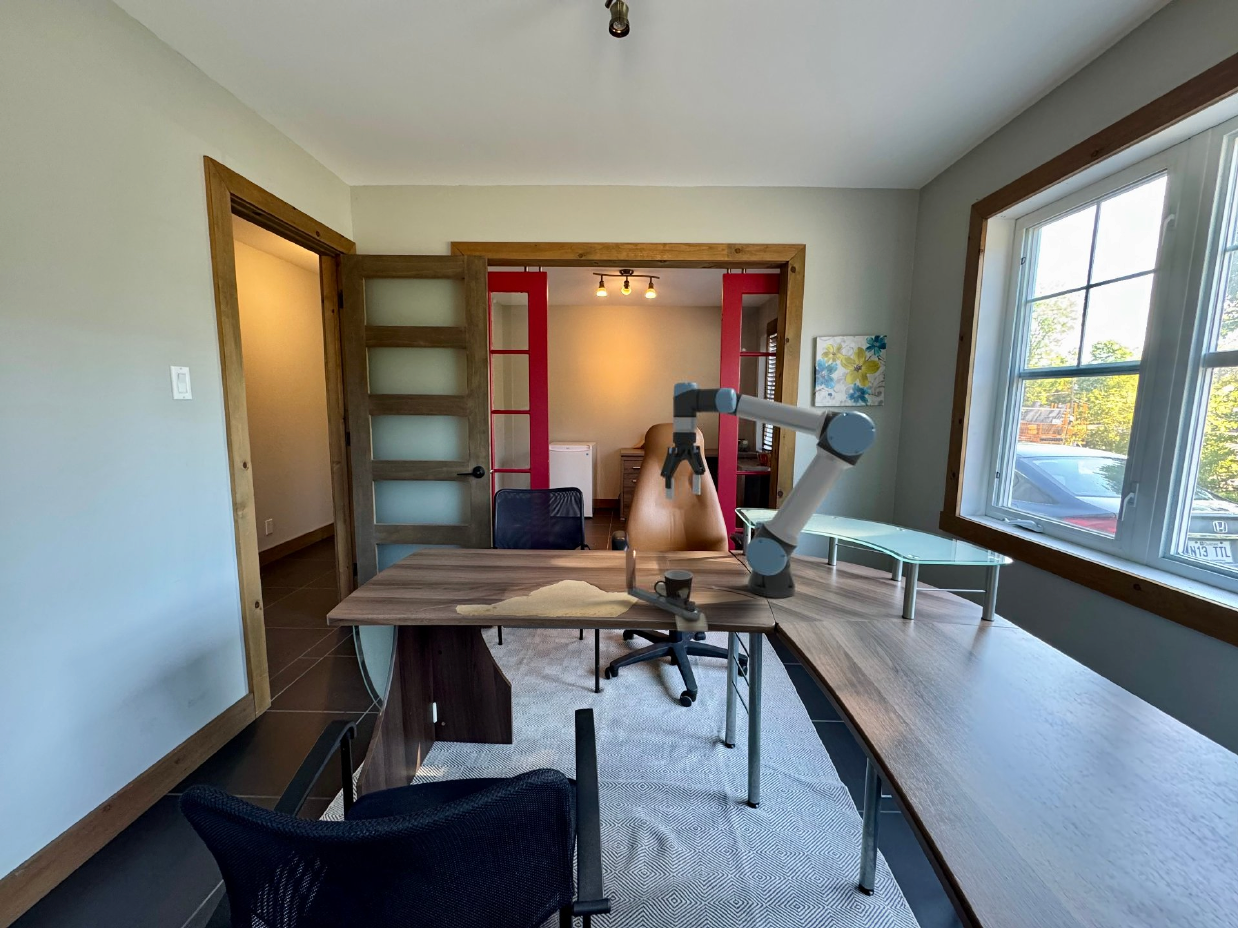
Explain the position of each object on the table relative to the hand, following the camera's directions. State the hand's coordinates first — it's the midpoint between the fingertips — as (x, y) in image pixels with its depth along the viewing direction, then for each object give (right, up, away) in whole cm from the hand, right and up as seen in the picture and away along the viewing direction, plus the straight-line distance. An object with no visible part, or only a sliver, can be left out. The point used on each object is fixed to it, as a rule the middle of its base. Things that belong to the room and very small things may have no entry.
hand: (683, 496), depth 152 cm
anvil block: (-4, -32, -1) cm, 32 cm away
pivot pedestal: (-1, -34, -23) cm, 41 cm away
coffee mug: (-5, -33, -10) cm, 35 cm away
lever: (-8, -31, -14) cm, 35 cm away
